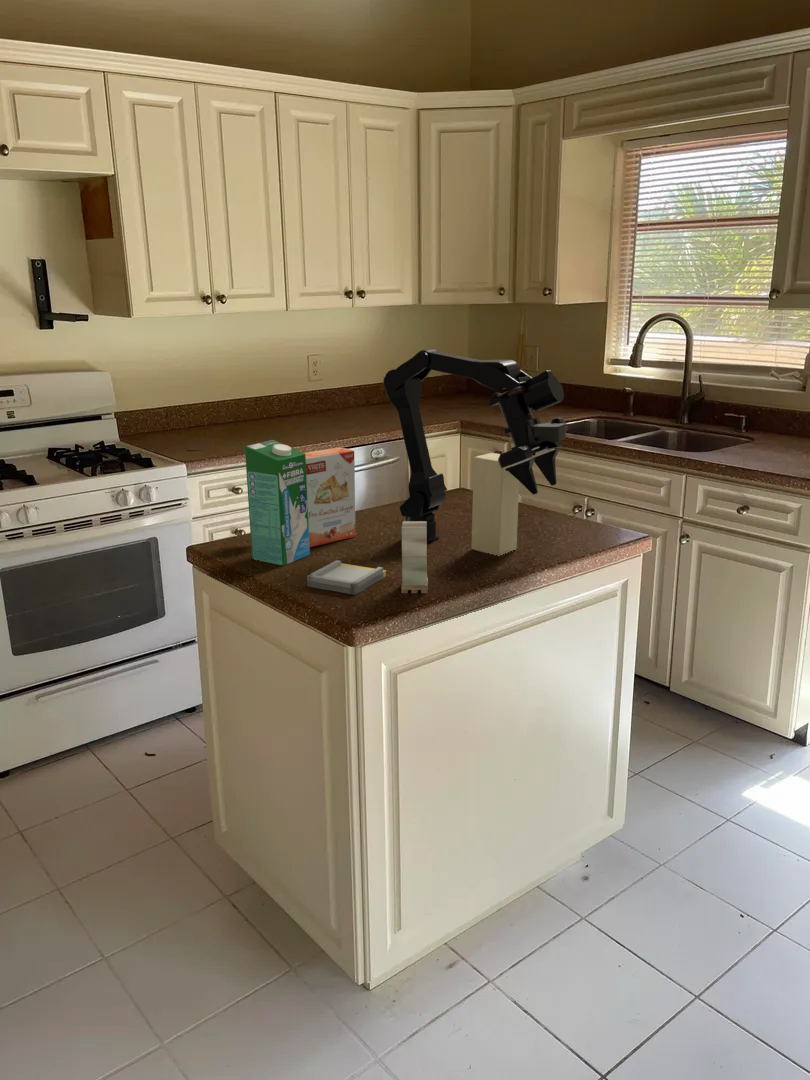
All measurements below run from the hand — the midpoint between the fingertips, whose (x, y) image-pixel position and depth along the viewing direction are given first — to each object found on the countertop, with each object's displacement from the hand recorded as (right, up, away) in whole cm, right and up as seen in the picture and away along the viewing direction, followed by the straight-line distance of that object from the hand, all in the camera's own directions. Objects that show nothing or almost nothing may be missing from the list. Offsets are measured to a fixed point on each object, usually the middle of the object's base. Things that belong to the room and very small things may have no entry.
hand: (545, 489), depth 179 cm
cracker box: (-48, -11, +21) cm, 53 cm away
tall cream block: (-9, -13, +13) cm, 20 cm away
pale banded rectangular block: (-27, -20, -11) cm, 36 cm away
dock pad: (-41, -19, -7) cm, 46 cm away
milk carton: (-56, -15, +9) cm, 59 cm away
